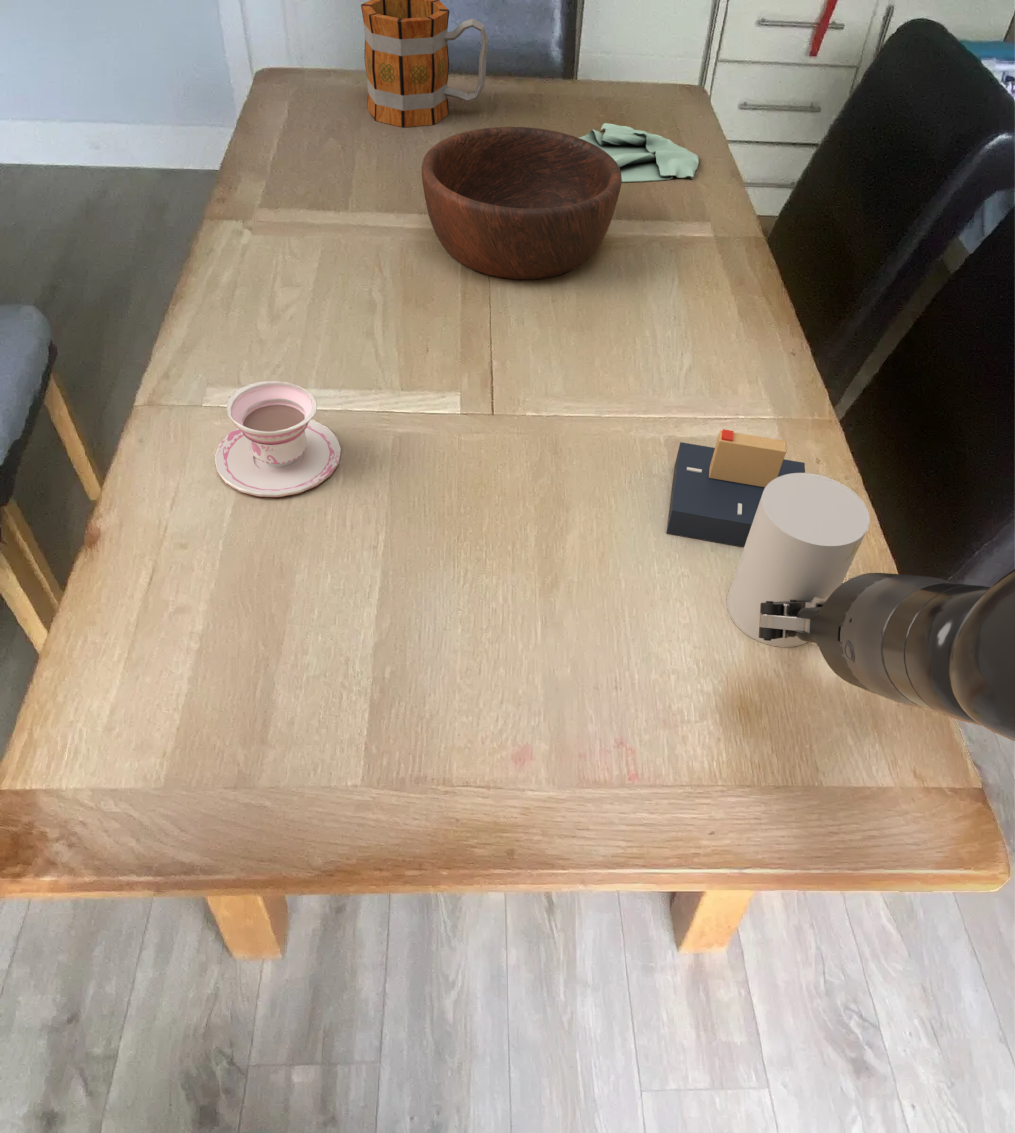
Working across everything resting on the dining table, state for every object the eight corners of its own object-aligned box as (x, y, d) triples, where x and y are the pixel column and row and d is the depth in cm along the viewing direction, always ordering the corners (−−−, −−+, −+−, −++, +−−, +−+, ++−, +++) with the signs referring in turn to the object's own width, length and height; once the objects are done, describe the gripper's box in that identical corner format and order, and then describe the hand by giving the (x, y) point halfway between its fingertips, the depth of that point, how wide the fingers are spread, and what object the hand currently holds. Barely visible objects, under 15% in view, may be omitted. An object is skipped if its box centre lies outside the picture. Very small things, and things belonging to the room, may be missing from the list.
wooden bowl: (633, 223, 125) (645, 148, 118) (577, 311, 109) (586, 230, 101) (467, 186, 131) (469, 111, 123) (390, 264, 114) (386, 184, 107)
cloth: (710, 184, 135) (714, 168, 133) (565, 182, 133) (567, 165, 131) (683, 129, 149) (686, 114, 147) (551, 126, 147) (553, 110, 145)
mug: (360, 124, 144) (353, 18, 133) (373, 93, 153) (367, -9, 142) (484, 132, 144) (486, 27, 133) (488, 100, 153) (491, -1, 142)
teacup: (364, 443, 90) (360, 392, 86) (293, 515, 83) (284, 464, 78) (266, 406, 94) (256, 355, 89) (189, 473, 86) (174, 421, 82)
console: (795, 478, 90) (805, 454, 87) (797, 557, 82) (807, 532, 80) (675, 458, 91) (681, 433, 89) (666, 533, 84) (672, 508, 81)
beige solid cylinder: (829, 651, 75) (879, 550, 66) (731, 642, 75) (768, 540, 66) (814, 579, 80) (858, 477, 72) (722, 570, 81) (756, 468, 72)
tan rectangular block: (773, 478, 85) (787, 438, 81) (773, 489, 84) (787, 449, 80) (709, 467, 86) (720, 427, 82) (708, 478, 84) (719, 438, 81)
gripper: (1019, 580, 54) (889, 571, 71) (800, 569, 53) (722, 562, 71) (1011, 706, 54) (883, 666, 71) (792, 695, 54) (717, 657, 71)
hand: (803, 614), depth 71 cm, fingers closed
